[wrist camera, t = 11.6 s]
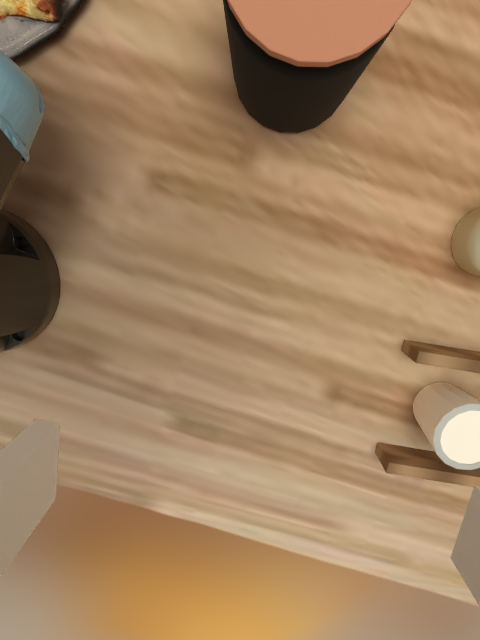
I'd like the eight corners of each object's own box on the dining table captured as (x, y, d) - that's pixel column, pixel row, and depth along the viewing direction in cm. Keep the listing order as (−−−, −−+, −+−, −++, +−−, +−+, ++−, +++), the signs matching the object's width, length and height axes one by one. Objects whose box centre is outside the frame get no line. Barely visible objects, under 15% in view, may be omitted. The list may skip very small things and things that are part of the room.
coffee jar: (371, 47, 37) (474, -109, 20) (311, 156, 40) (354, 102, 22) (270, -16, 37) (284, -237, 19) (214, 99, 39) (180, -4, 21)
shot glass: (436, 364, 44) (469, 389, 37) (483, 400, 45) (525, 432, 38) (393, 411, 45) (418, 444, 38) (440, 445, 46) (472, 483, 39)
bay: (375, 452, 46) (386, 472, 43) (404, 340, 43) (419, 351, 40) (490, 470, 46) (511, 493, 43) (527, 360, 43) (554, 373, 40)
